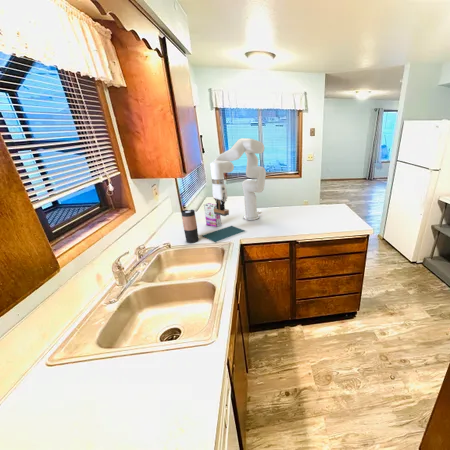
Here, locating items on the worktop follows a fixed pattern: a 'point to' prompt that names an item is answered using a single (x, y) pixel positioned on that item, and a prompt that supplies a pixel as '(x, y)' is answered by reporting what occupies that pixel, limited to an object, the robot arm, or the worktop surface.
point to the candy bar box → (211, 215)
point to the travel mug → (190, 226)
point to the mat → (223, 233)
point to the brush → (221, 212)
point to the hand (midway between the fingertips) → (220, 208)
